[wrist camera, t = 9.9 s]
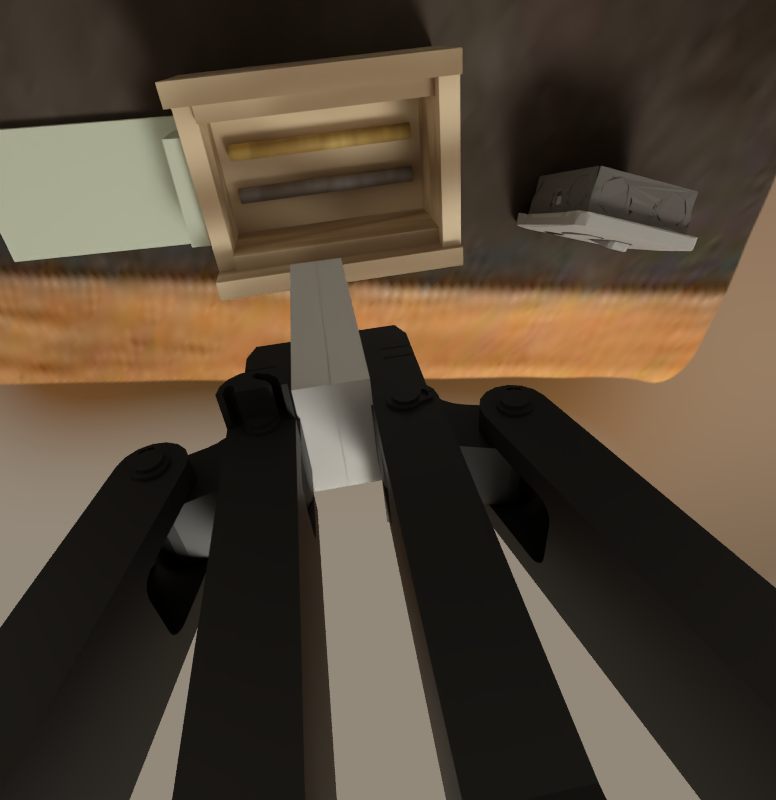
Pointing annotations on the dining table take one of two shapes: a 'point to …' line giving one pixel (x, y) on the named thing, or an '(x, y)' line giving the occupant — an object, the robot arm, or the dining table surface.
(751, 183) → the dining table surface
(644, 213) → the electrical switch
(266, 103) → the pencil box
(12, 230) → the lid
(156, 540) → the robot arm
